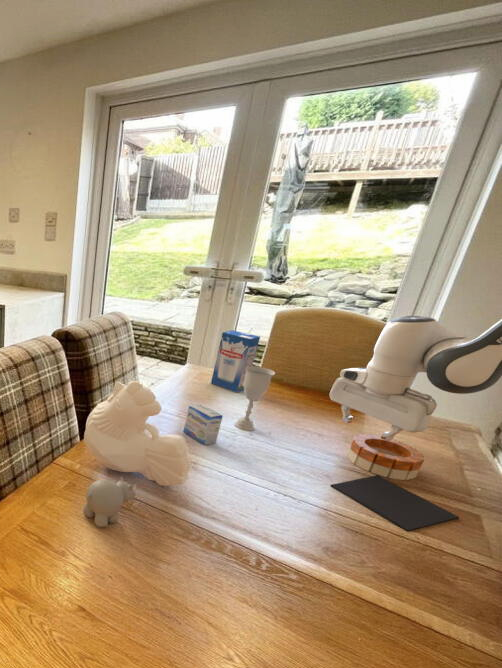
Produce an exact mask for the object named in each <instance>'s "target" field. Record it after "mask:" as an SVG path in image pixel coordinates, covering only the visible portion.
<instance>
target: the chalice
mask: <svg viewBox="0 0 502 668" xmlns="http://www.w3.org/2000/svg"><path fill="white" fill-rule="evenodd" d="M246 371H247V372H246V376H245V380H244V390H243V391H244V394H245V397H246V399H247V400H249V401H248V404H246V406H247V408H246V410H245V416H243V417H240V418H239V419H238V420H237V421H236V422H234V426H235V425H236V426H237V428H238V429H240V428H241V430H242V431H249V432H250V431H254V430H255V425H254V421H253V420H252V419H251V418H250V416H251V414H253V412H252V409H253V408H254V402H257V401H259V400H260V399H261V398H262V397H263V396H264V395H265V394H266V393H267V392H268V390H269V388H270V384H271V381H272V378H273V377H274V375H275V374H276V372H275V371H274V370H272V369H270V368H266V367H263V366H256V365H252V366H247V367H246ZM236 426H235V427H236Z"/></svg>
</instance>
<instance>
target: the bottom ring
mask: <svg viewBox="0 0 502 668" xmlns="http://www.w3.org/2000/svg"><path fill="white" fill-rule="evenodd" d="M370 448H372V449H375V450H377V451H379V452H381V453H385V454H388V455H392V456H398V457H402V456H400V455H398V454H396V453H393V452H391V451H388V450H384V449H381V448H375V447H370ZM346 457H347V459H348V460H349V461H350V462H351V463H352V464H354V465H355V466H357V467H358V468H361V469H363V470H365V471H366V472H370V473H371V474H374V475H379V476H381V477H383V478H387V477H388V478H389V479H394V480H400V481H408V480H413V479H416V478H417V476H418V474H419V472H420V470H421V468H420V469H419V470H414V471H409V470H408V471H403V470H395V469H393V468H392V467H391V469H390V468H387V467H383V466H380V465H377V464H375V462H373V463H371V462H369V461H367V460H365V459H363V458H361V457H359V455H356V454H355V453H354V452H353V451H352V450H351V446H350V447H349V450H348V452H347V455H346Z"/></svg>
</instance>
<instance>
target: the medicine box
mask: <svg viewBox="0 0 502 668" xmlns="http://www.w3.org/2000/svg"><path fill="white" fill-rule="evenodd" d="M223 416H224V415H222V414H221V413H219V412H217V411H215V410H213V409H211V408H208V407H207V406H204V405H203V404H201V403H197V404H191V405H189V406H188V408H187V413H186V417H185V421H184V426H183V430H182V431H183V433H184V434H185V433H186V434H185V435H187V434H188V435H187V436H189V437H190V436H191V438H192V437H193V438H192V439H194V440H196V441H197V440H198V441H197V442H199V443H201V444H202V445H204V446H205V445H211V444H215V443H217V441H218V436H219V433H220V428H221V424H222V421H223ZM210 443H211V444H210Z"/></svg>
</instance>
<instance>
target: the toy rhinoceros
mask: <svg viewBox="0 0 502 668" xmlns="http://www.w3.org/2000/svg"><path fill="white" fill-rule="evenodd" d="M136 490H137V485H136V483H134V484H130V483H128V482H127V481H125V480H124V476H120V478H119V480H118V482H114V481H112V480H109V479H98V480H96V481H94V482H92V483H91V484H90V485H89V487H88V488H87V490H86V496H85V497H86V498H85V499H86V503H85V505H84V506H83V510H82V513H83V515H84V516H86V517H88V518H94V525H95V526H96V527H98V528H106V527H108V524H109V523H111V524H116V523H118V521H119V517H120V515H119V512H120V510H121V509H122V508H123V505H124V503H127V502H130V501H133V500H134V499H135V497H136V496H137V495H136Z"/></svg>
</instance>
